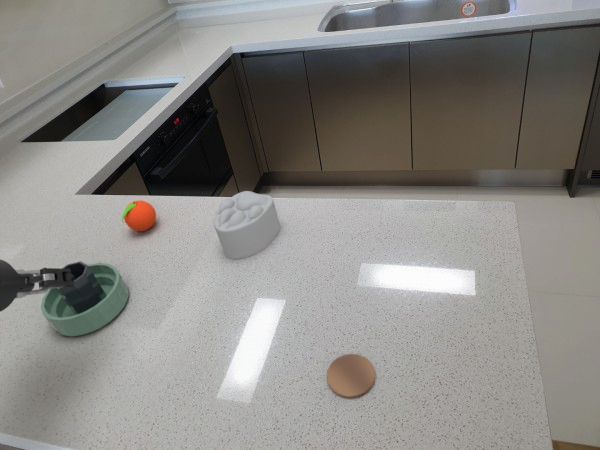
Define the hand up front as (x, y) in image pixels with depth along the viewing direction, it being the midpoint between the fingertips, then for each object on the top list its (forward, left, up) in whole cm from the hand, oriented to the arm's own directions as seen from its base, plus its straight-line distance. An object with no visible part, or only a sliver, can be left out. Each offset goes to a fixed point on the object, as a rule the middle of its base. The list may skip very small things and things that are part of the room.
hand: (46, 285), depth 74 cm
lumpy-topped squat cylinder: (+34, -10, -13) cm, 38 cm away
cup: (+5, +4, -12) cm, 14 cm away
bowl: (+5, +4, -13) cm, 14 cm away
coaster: (+16, -46, -13) cm, 51 cm away
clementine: (+26, +15, -13) cm, 33 cm away
